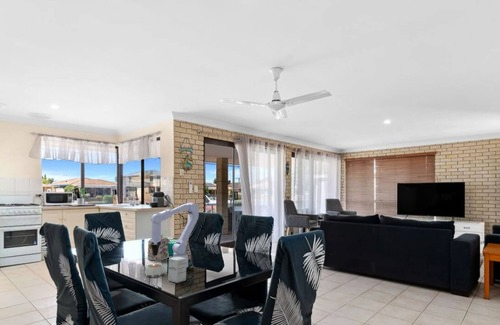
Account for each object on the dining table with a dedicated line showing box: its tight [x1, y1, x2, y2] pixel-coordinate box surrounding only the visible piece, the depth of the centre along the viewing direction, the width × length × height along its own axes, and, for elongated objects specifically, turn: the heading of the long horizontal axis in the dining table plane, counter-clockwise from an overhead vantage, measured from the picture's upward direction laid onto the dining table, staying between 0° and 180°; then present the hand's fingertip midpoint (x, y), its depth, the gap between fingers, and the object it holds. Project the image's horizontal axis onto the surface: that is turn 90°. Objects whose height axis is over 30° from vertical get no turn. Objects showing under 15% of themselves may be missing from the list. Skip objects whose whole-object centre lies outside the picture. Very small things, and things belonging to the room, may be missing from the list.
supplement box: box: [167, 256, 187, 284], centre depth 179 cm, size 7×7×13 cm
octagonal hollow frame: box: [143, 263, 165, 278], centre depth 192 cm, size 12×11×5 cm
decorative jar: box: [147, 234, 171, 262], centre depth 235 cm, size 12×12×18 cm
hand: (155, 254), depth 201 cm, fingers open, 7 cm apart
